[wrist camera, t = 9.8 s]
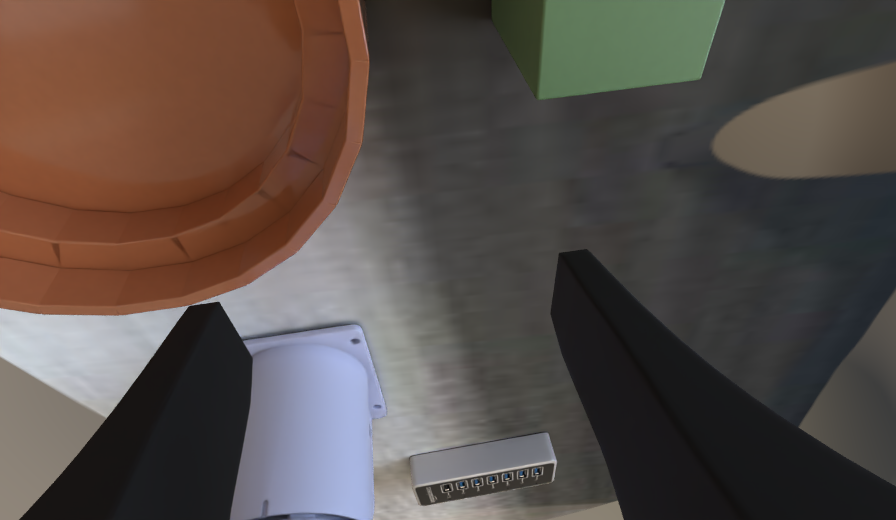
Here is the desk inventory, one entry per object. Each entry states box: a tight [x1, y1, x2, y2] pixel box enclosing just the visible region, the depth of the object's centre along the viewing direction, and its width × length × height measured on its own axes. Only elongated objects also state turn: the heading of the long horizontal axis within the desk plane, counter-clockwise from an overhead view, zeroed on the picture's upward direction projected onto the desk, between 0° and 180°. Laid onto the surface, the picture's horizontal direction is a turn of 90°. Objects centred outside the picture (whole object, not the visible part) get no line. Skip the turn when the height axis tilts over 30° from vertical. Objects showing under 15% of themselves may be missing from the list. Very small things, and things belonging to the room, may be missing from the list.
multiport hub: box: [410, 433, 557, 506], centre depth 39 cm, size 4×11×2 cm, turn 95°
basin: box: [0, 0, 370, 316], centre depth 12 cm, size 18×18×4 cm
